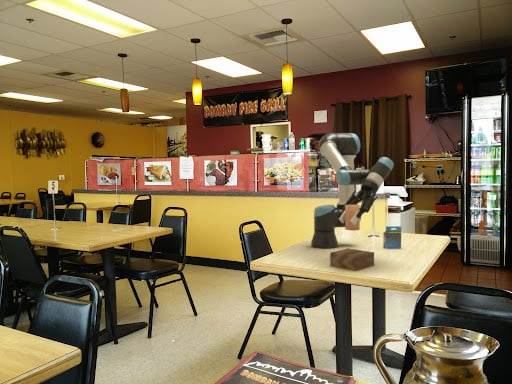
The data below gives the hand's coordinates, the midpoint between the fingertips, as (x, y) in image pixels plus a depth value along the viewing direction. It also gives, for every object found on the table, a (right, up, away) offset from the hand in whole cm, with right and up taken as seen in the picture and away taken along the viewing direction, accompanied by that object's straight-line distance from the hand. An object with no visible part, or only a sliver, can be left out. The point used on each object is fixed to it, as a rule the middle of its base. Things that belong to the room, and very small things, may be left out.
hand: (346, 221), depth 185 cm
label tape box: (+35, -18, +45) cm, 60 cm away
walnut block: (+3, -20, +3) cm, 21 cm away
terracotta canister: (+3, -3, +2) cm, 5 cm away
